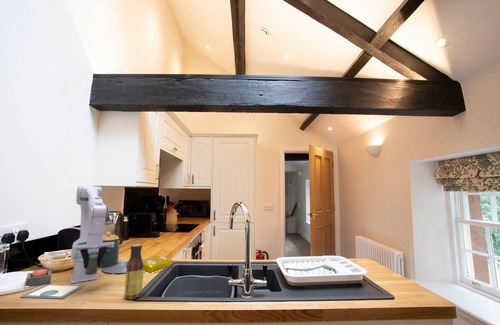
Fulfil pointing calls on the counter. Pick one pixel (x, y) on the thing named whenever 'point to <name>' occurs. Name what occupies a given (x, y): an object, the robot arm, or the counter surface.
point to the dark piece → (92, 263)
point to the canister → (110, 250)
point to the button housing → (38, 279)
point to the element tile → (155, 263)
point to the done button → (39, 272)
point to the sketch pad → (53, 291)
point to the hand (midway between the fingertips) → (91, 266)
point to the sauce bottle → (134, 273)
